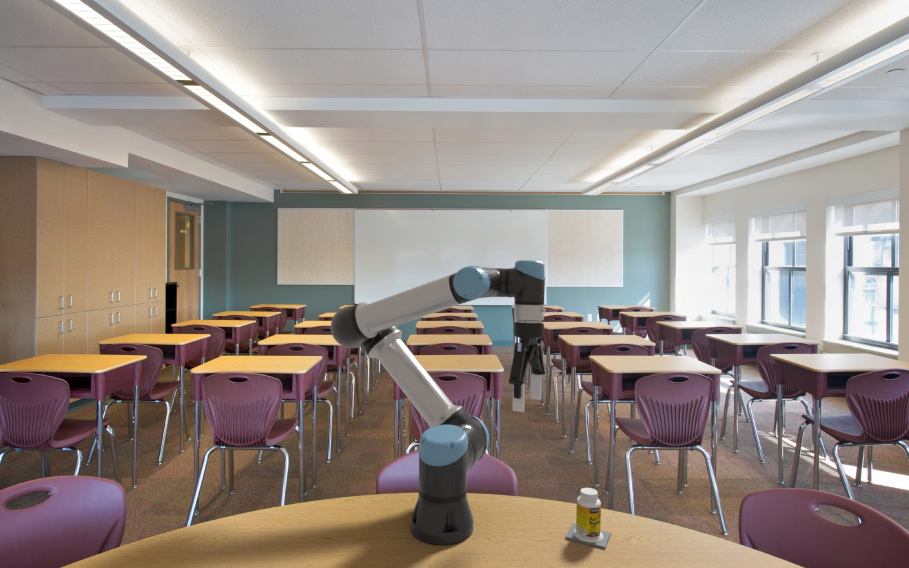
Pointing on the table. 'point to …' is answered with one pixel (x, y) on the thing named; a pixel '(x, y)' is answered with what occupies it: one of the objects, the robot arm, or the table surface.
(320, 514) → the table surface
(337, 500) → the table surface
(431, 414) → the robot arm
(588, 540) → the seat plate
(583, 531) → the supplement bottle
